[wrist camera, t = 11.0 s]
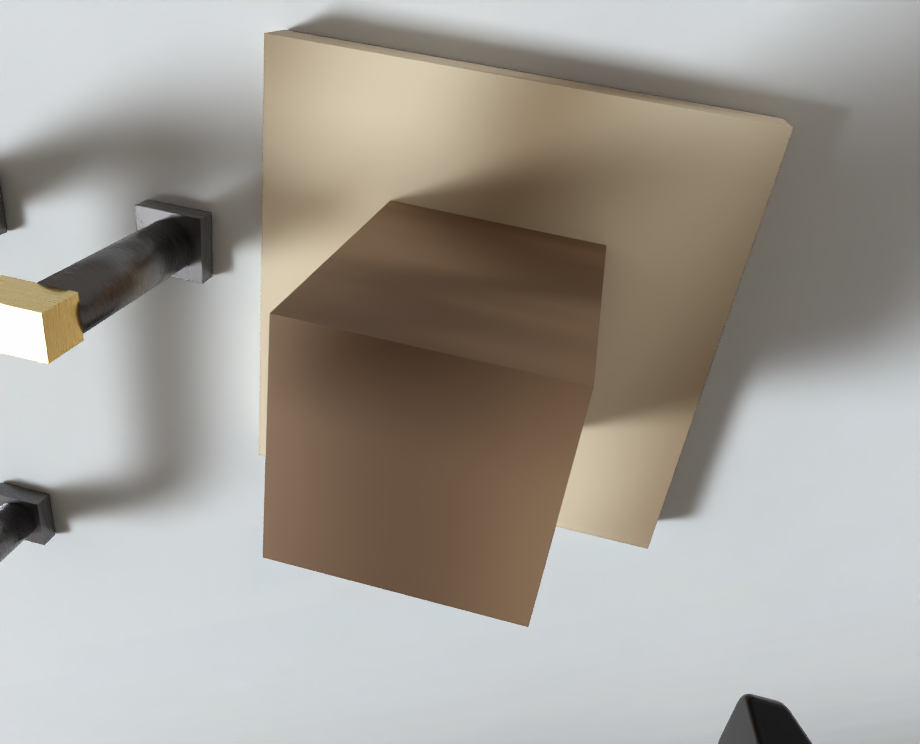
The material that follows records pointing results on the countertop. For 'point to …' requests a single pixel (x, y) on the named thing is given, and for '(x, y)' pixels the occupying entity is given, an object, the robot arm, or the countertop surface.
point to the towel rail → (90, 317)
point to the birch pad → (533, 220)
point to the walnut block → (431, 407)
